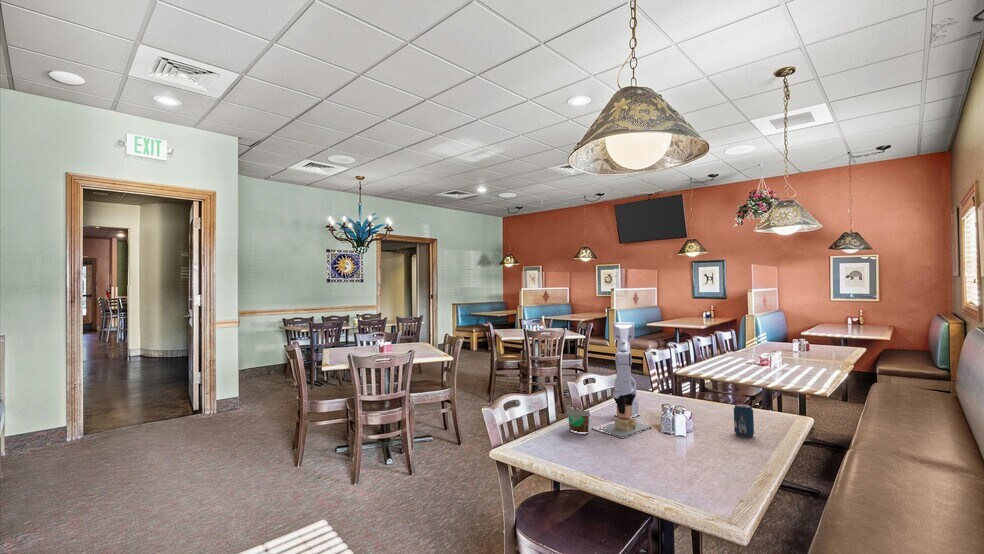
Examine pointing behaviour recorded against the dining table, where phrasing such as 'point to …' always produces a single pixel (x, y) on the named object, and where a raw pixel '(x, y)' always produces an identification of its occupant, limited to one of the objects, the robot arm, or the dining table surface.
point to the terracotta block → (625, 412)
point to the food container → (578, 419)
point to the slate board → (623, 433)
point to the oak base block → (625, 423)
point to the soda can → (743, 420)
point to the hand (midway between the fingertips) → (625, 412)
